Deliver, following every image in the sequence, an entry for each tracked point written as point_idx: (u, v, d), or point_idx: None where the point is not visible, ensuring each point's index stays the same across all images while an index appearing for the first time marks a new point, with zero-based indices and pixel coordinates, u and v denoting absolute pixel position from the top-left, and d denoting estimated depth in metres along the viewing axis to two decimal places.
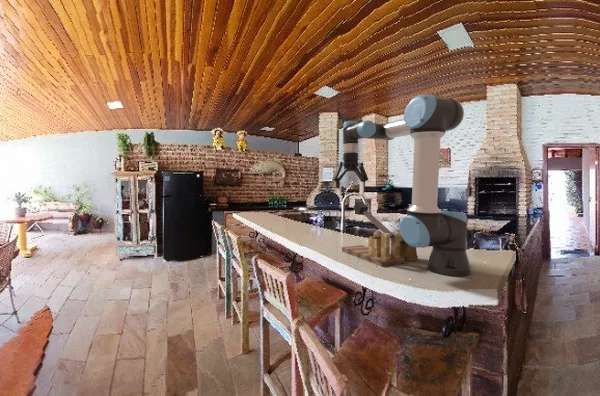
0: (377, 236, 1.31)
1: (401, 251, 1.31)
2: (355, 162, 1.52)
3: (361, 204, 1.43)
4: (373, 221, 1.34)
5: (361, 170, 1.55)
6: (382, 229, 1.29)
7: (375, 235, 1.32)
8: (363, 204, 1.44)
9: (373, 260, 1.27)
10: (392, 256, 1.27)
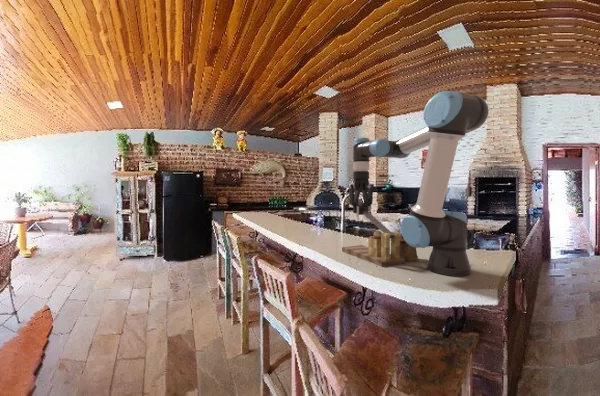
0: (377, 236, 1.31)
1: (401, 251, 1.31)
2: (367, 180, 1.43)
3: (361, 204, 1.43)
4: (373, 221, 1.34)
5: (369, 192, 1.45)
6: (382, 229, 1.29)
7: (375, 235, 1.32)
8: (363, 204, 1.44)
9: (373, 260, 1.27)
10: (392, 256, 1.27)
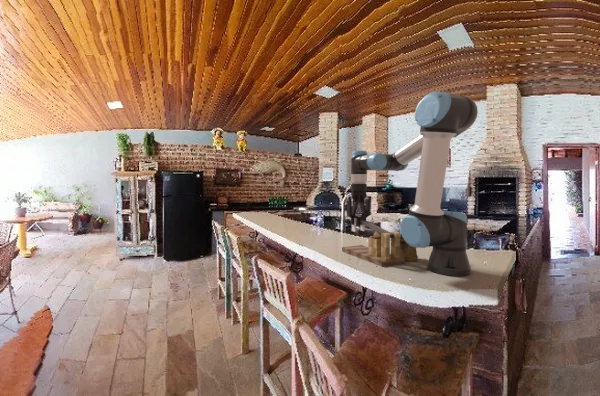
0: (377, 236, 1.31)
1: (401, 251, 1.31)
2: (364, 192, 1.45)
3: (358, 215, 1.46)
4: (372, 227, 1.35)
5: (366, 203, 1.47)
6: (381, 231, 1.29)
7: (375, 235, 1.32)
8: (360, 215, 1.46)
9: (373, 260, 1.27)
10: (392, 256, 1.27)
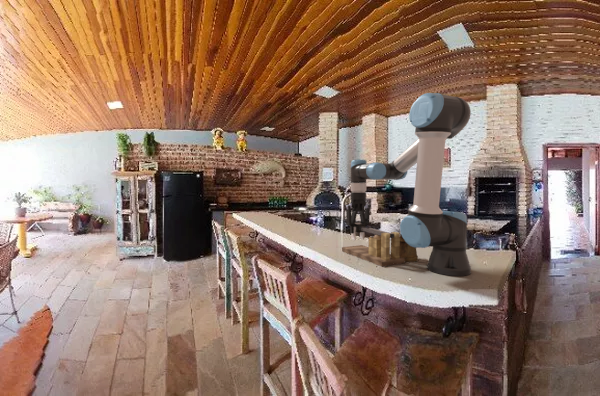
0: None
1: (401, 251, 1.31)
2: (364, 201, 1.46)
3: (357, 223, 1.47)
4: (371, 231, 1.35)
5: (366, 212, 1.48)
6: None
7: (375, 238, 1.32)
8: (359, 223, 1.47)
9: (373, 260, 1.27)
10: (392, 256, 1.27)
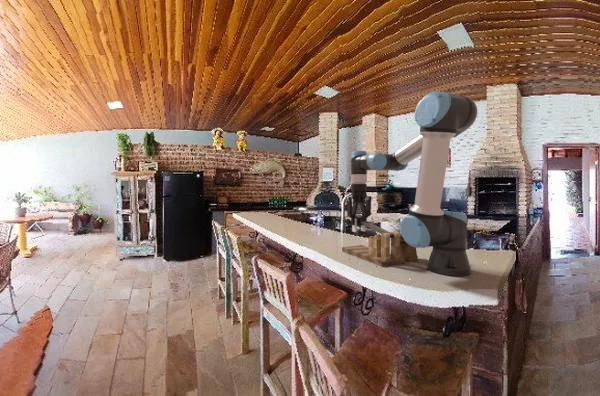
0: None
1: (401, 251, 1.31)
2: (364, 192, 1.45)
3: (358, 215, 1.46)
4: (372, 227, 1.35)
5: (367, 203, 1.47)
6: (381, 231, 1.29)
7: None
8: (360, 215, 1.46)
9: (373, 260, 1.27)
10: (392, 256, 1.27)
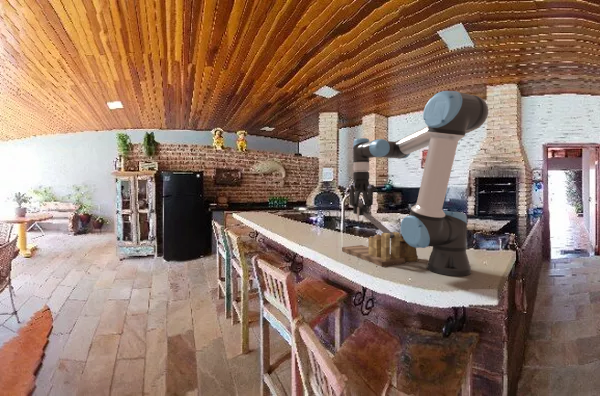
0: None
1: (401, 251, 1.31)
2: (367, 181, 1.43)
3: (360, 205, 1.44)
4: (373, 221, 1.34)
5: (369, 192, 1.45)
6: (382, 229, 1.29)
7: None
8: (363, 205, 1.44)
9: (373, 260, 1.27)
10: (392, 256, 1.27)
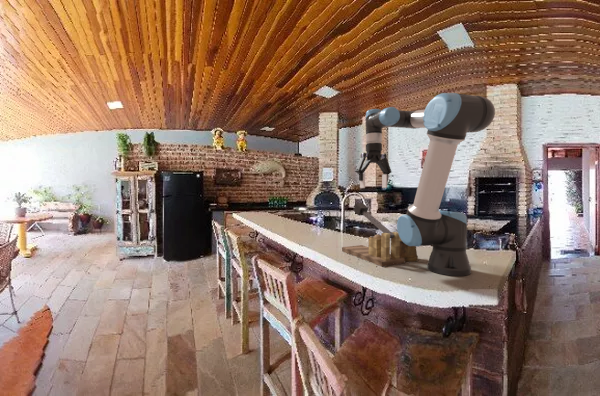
0: None
1: (401, 251, 1.31)
2: (378, 153, 1.43)
3: (360, 204, 1.44)
4: (373, 221, 1.34)
5: (384, 162, 1.46)
6: (382, 229, 1.29)
7: None
8: (363, 205, 1.44)
9: (373, 260, 1.27)
10: (392, 256, 1.27)
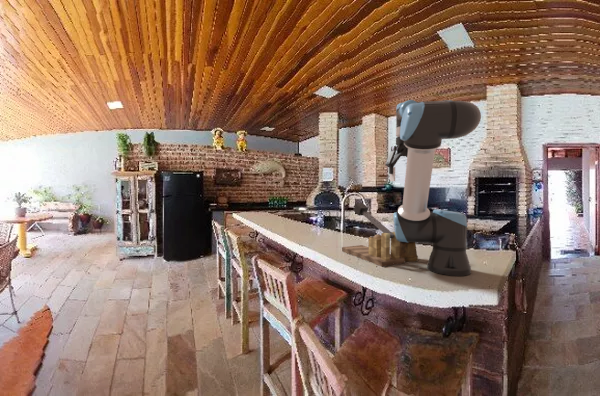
0: None
1: (401, 251, 1.31)
2: None
3: (360, 204, 1.44)
4: (373, 221, 1.34)
5: None
6: (382, 229, 1.29)
7: None
8: (363, 205, 1.44)
9: (373, 260, 1.27)
10: (392, 256, 1.27)
